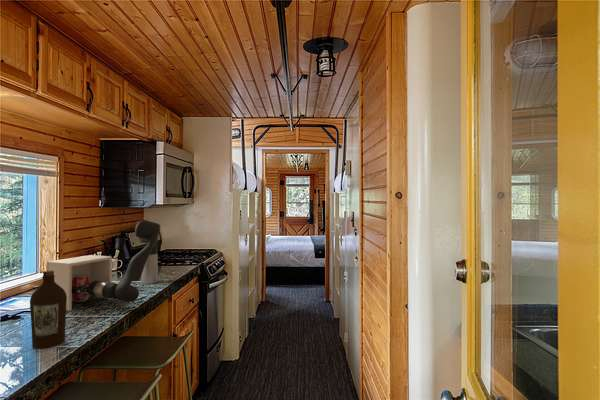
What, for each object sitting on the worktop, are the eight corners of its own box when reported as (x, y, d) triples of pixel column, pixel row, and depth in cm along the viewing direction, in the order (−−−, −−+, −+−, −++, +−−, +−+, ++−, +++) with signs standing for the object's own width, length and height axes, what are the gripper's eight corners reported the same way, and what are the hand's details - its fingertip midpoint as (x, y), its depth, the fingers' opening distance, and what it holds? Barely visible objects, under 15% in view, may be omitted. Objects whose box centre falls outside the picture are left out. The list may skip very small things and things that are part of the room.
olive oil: (34, 340, 132) (34, 270, 132) (69, 335, 136) (69, 267, 136) (26, 351, 122) (25, 275, 122) (63, 346, 126) (63, 272, 126)
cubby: (47, 307, 173) (46, 261, 173) (90, 295, 194) (90, 254, 194) (69, 310, 167) (68, 263, 167) (111, 298, 188) (111, 256, 188)
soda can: (92, 298, 183) (92, 274, 183) (80, 302, 176) (80, 277, 176) (81, 298, 185) (80, 273, 185) (68, 301, 178) (68, 276, 178)
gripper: (114, 278, 181) (90, 276, 188) (87, 284, 168) (62, 281, 175) (114, 293, 181) (90, 290, 188) (87, 301, 168) (63, 297, 175)
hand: (77, 286), depth 181 cm, fingers closed on soda can, 7 cm apart
